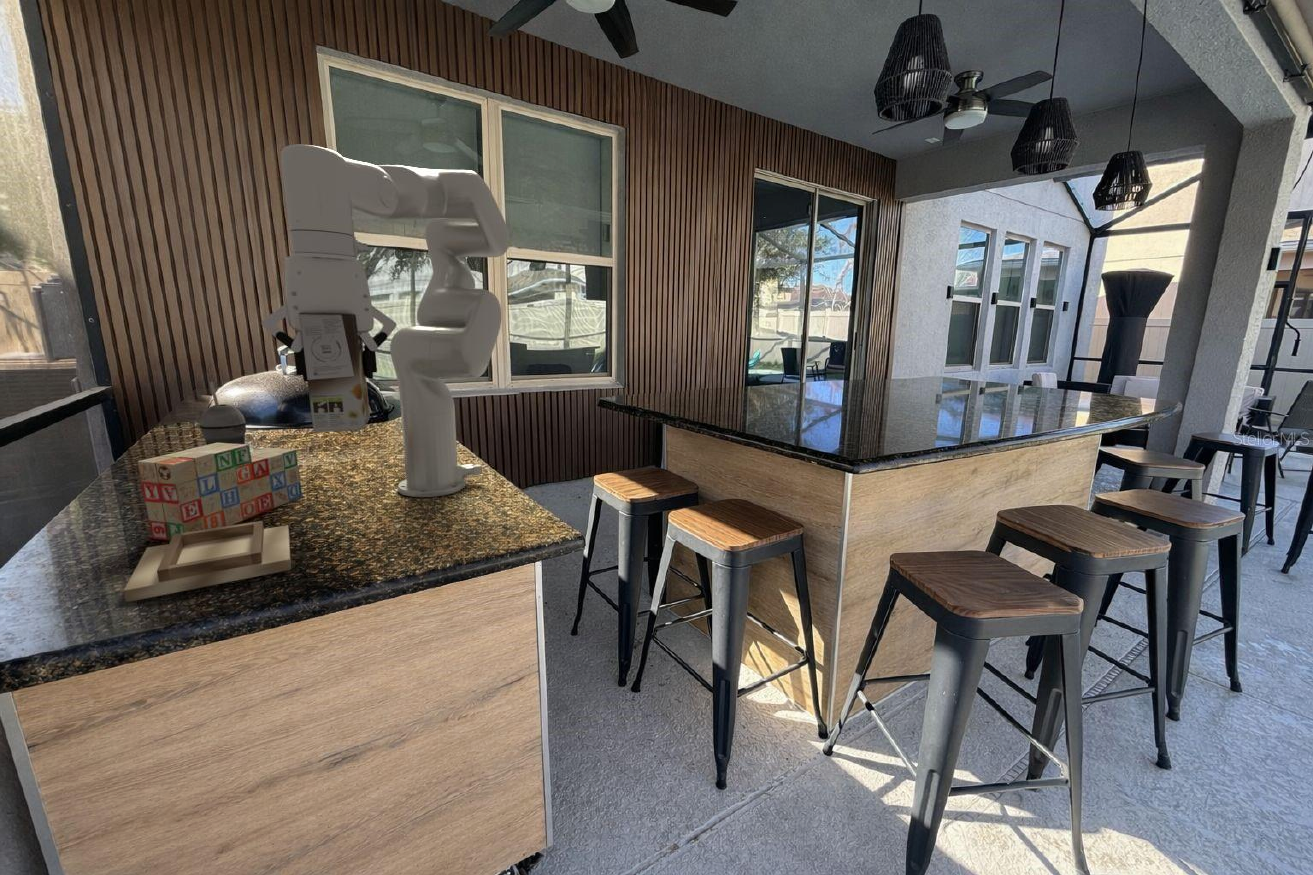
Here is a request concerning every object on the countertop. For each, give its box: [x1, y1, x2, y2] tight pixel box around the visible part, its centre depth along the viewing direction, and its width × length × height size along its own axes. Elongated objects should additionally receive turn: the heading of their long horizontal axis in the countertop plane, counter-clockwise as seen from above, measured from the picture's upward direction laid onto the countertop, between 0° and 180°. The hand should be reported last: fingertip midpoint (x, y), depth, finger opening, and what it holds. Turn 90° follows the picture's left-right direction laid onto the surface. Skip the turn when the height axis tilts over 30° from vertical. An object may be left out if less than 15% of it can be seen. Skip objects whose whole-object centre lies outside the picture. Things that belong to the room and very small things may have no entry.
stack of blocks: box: [137, 443, 303, 541], centre depth 88 cm, size 21×6×12 cm, turn 170°
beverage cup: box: [198, 381, 248, 445], centre depth 105 cm, size 7×7×20 cm
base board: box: [123, 520, 292, 603], centre depth 72 cm, size 16×14×3 cm
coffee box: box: [299, 313, 371, 433], centre depth 76 cm, size 9×6×16 cm
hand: (338, 378), depth 76 cm, fingers closed on coffee box, 7 cm apart
